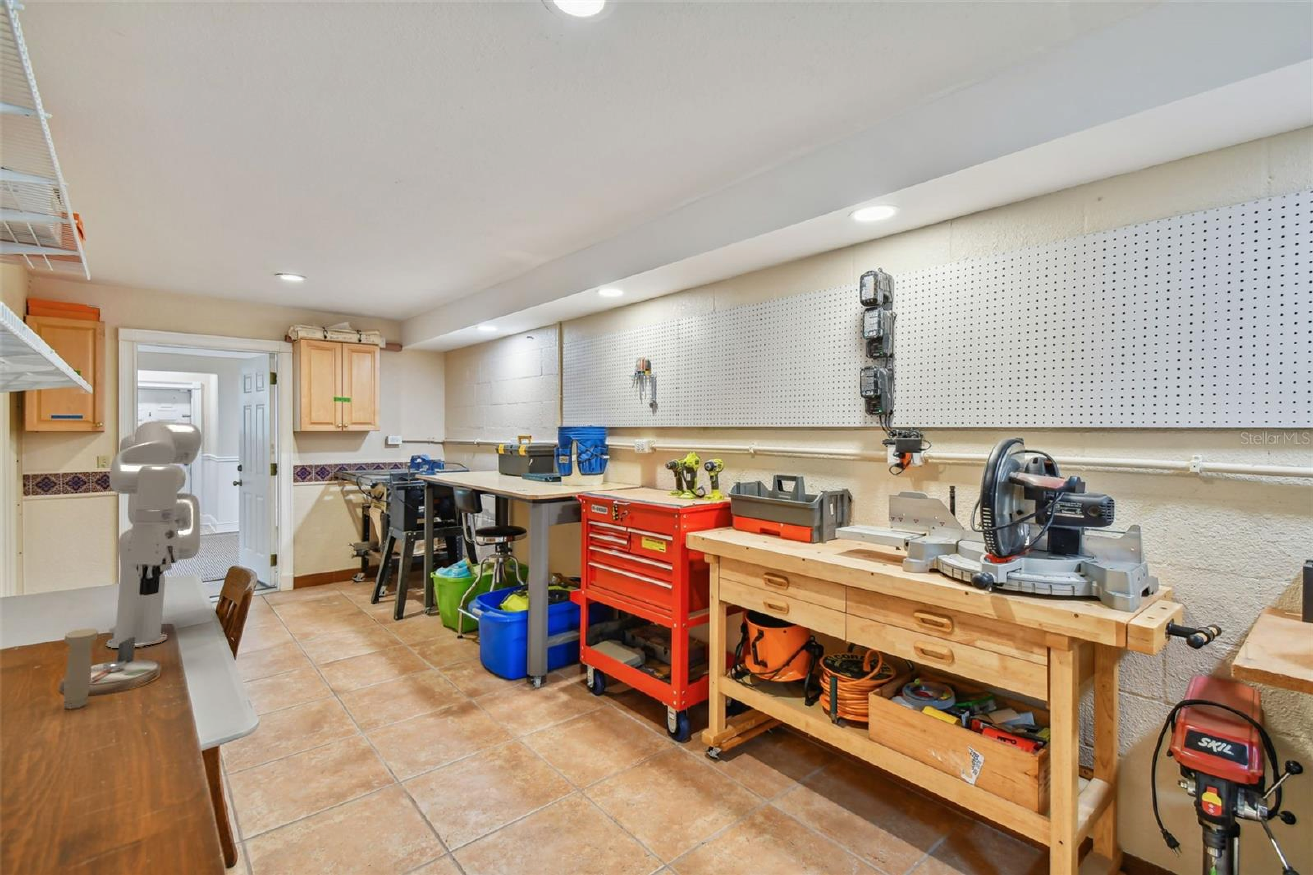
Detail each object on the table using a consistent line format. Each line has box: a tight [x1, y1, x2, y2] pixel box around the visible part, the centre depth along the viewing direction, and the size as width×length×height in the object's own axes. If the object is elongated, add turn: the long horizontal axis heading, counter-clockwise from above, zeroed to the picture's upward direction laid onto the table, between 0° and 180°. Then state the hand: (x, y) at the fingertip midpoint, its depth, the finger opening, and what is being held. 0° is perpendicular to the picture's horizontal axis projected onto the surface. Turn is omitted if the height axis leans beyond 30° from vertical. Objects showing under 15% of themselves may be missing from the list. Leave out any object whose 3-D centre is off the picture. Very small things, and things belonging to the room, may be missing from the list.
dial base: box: [59, 658, 163, 697], centre depth 135 cm, size 17×17×3 cm
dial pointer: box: [91, 637, 136, 680], centre depth 135 cm, size 14×4×5 cm, turn 16°
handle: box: [63, 628, 99, 710], centre depth 121 cm, size 5×6×15 cm
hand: (148, 593), depth 140 cm, fingers closed
